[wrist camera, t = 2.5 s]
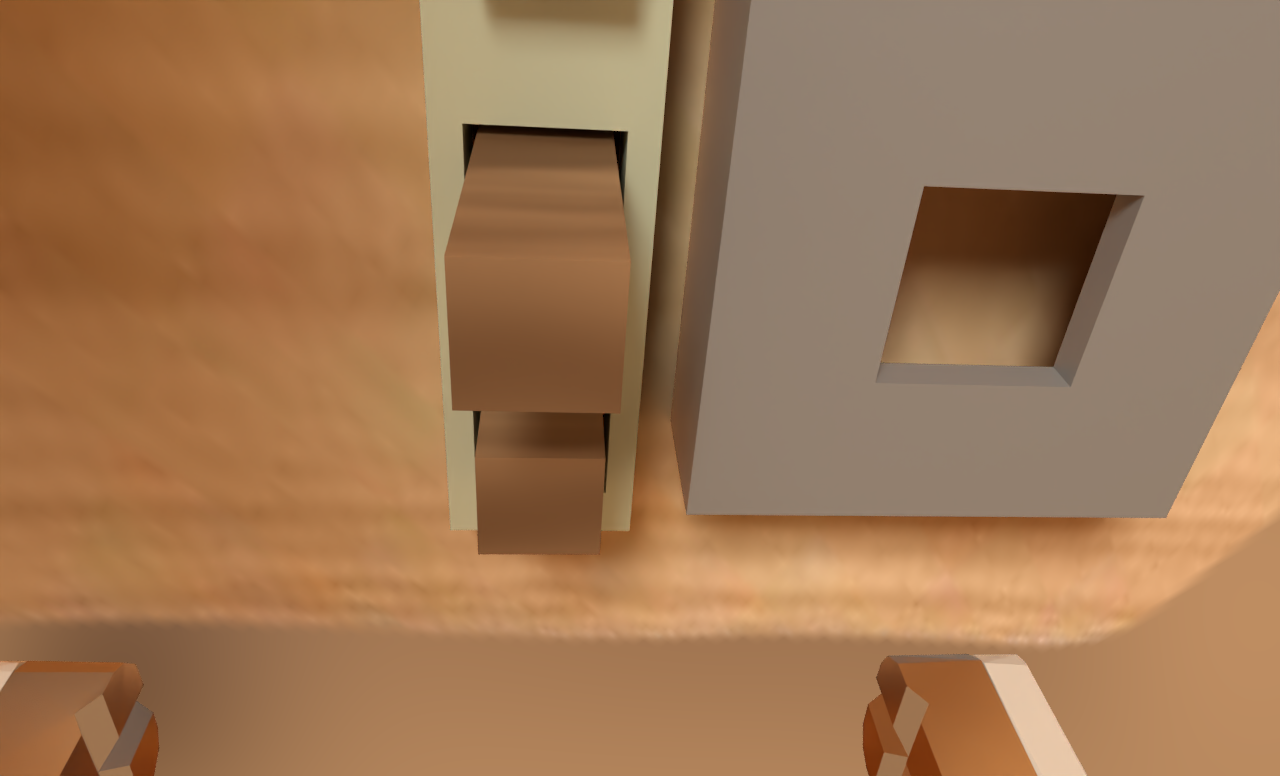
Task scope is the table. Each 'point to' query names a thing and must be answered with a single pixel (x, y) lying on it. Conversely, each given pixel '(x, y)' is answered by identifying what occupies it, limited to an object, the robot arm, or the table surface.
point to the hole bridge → (882, 229)
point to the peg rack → (554, 98)
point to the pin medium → (539, 482)
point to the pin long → (538, 274)
